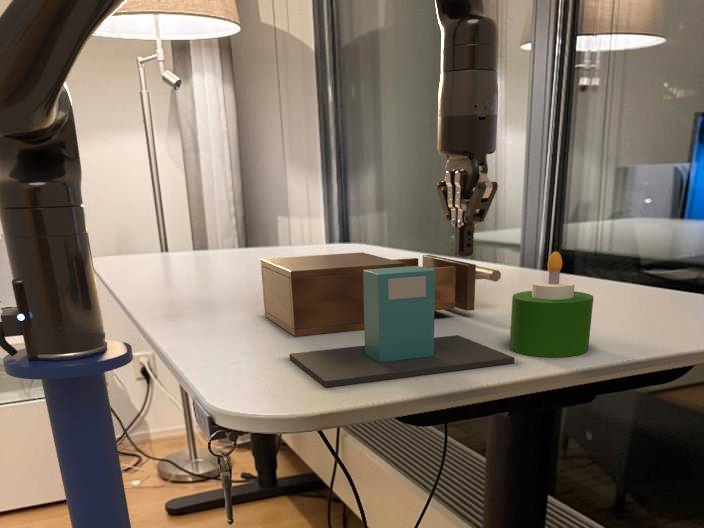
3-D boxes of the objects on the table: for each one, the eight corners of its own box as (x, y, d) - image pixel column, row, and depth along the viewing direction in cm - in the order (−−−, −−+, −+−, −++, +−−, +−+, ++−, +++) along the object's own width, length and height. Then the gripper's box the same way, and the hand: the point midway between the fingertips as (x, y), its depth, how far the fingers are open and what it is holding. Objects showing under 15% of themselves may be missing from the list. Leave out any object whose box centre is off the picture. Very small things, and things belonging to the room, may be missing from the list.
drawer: (463, 292, 108) (465, 252, 106) (512, 306, 97) (514, 261, 94) (343, 303, 102) (341, 260, 100) (379, 319, 90) (378, 271, 88)
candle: (605, 351, 76) (616, 252, 72) (541, 360, 73) (548, 258, 69) (554, 336, 83) (562, 245, 79) (494, 344, 80) (499, 250, 76)
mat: (325, 387, 66) (325, 381, 66) (289, 359, 76) (289, 353, 76) (514, 363, 72) (514, 357, 72) (457, 340, 83) (457, 334, 83)
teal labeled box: (379, 363, 71) (378, 274, 68) (364, 354, 75) (362, 269, 72) (434, 356, 73) (435, 270, 70) (417, 348, 77) (417, 265, 73)
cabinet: (363, 307, 104) (362, 252, 101) (405, 325, 91) (405, 262, 88) (264, 316, 99) (260, 259, 96) (294, 336, 87) (290, 271, 84)
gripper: (418, 117, 96) (417, 253, 103) (466, 109, 85) (462, 262, 92) (468, 117, 99) (464, 250, 106) (521, 109, 87) (513, 258, 94)
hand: (463, 255), depth 99 cm, fingers closed
